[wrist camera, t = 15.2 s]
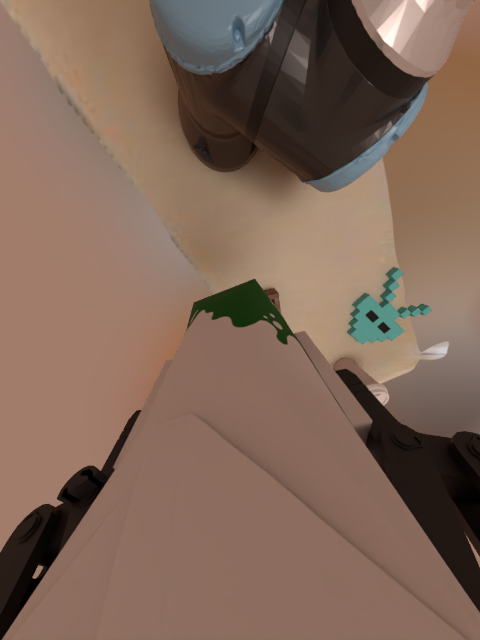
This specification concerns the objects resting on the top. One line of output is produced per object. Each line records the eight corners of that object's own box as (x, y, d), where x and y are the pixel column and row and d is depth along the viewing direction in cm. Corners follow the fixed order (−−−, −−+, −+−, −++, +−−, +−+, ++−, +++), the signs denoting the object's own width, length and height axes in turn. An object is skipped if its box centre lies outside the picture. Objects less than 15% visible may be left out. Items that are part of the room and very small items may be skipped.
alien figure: (391, 267, 46) (333, 320, 52) (399, 268, 44) (337, 323, 50) (424, 307, 52) (368, 350, 59) (432, 310, 50) (373, 354, 57)
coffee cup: (355, 350, 58) (392, 385, 45) (357, 369, 62) (392, 406, 49) (327, 359, 59) (356, 396, 46) (331, 377, 63) (358, 416, 50)
